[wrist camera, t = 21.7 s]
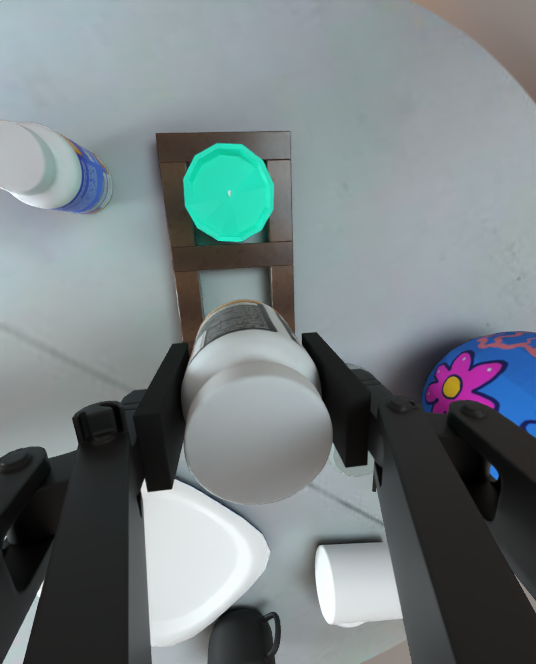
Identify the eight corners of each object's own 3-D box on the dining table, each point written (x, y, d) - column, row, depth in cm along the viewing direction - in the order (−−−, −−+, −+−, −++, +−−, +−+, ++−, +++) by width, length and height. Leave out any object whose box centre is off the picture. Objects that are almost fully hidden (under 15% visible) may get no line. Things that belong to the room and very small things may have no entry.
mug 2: (318, 530, 43) (337, 593, 36) (386, 528, 45) (419, 587, 37) (308, 594, 47) (323, 663, 39) (372, 589, 48) (399, 656, 40)
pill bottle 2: (185, 373, 19) (142, 505, 10) (212, 283, 18) (191, 335, 8) (273, 395, 20) (310, 533, 11) (304, 313, 19) (377, 387, 9)
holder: (160, 140, 28) (155, 133, 26) (286, 137, 29) (290, 130, 27) (188, 355, 34) (185, 362, 32) (291, 347, 35) (295, 353, 33)
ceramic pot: (383, 446, 40) (467, 560, 26) (409, 311, 35) (531, 361, 21) (504, 444, 43) (643, 548, 28) (545, 317, 38) (738, 365, 23)
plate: (10, 576, 40) (1, 591, 38) (135, 440, 36) (130, 450, 34) (173, 647, 46) (171, 662, 45) (290, 538, 43) (293, 550, 41)
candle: (206, 165, 29) (190, 117, 18) (268, 186, 30) (291, 155, 19) (192, 230, 30) (168, 226, 19) (251, 249, 32) (263, 255, 20)
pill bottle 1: (117, 159, 28) (61, 120, 19) (110, 221, 29) (55, 213, 20) (51, 141, 27) (-42, 90, 18) (47, 206, 28) (-41, 190, 19)
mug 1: (242, 651, 48) (244, 718, 42) (196, 629, 46) (190, 697, 39) (296, 604, 47) (308, 666, 40) (252, 579, 44) (256, 640, 38)
